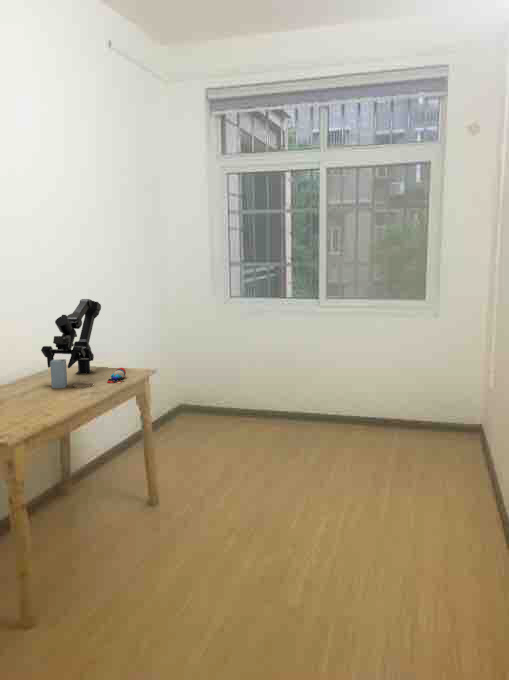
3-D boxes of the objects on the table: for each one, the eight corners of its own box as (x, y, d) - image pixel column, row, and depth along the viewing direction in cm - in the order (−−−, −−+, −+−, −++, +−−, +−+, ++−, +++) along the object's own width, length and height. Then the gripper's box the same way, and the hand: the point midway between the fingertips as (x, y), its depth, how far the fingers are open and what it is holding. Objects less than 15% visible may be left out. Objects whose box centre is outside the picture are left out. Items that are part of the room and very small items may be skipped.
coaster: (76, 382, 255) (75, 381, 255) (95, 382, 255) (95, 381, 255) (70, 387, 246) (70, 386, 246) (91, 387, 247) (91, 386, 246)
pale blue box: (54, 385, 250) (53, 359, 248) (67, 385, 251) (65, 359, 249) (51, 388, 246) (50, 361, 244) (64, 387, 246) (62, 361, 244)
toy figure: (122, 387, 254) (130, 374, 269) (120, 377, 253) (129, 364, 267) (106, 388, 255) (115, 375, 269) (104, 378, 253) (113, 365, 268)
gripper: (41, 328, 250) (31, 357, 241) (81, 329, 249) (72, 357, 239) (50, 342, 259) (40, 370, 250) (89, 343, 258) (80, 371, 248)
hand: (58, 367), depth 247 cm, fingers open, 9 cm apart
